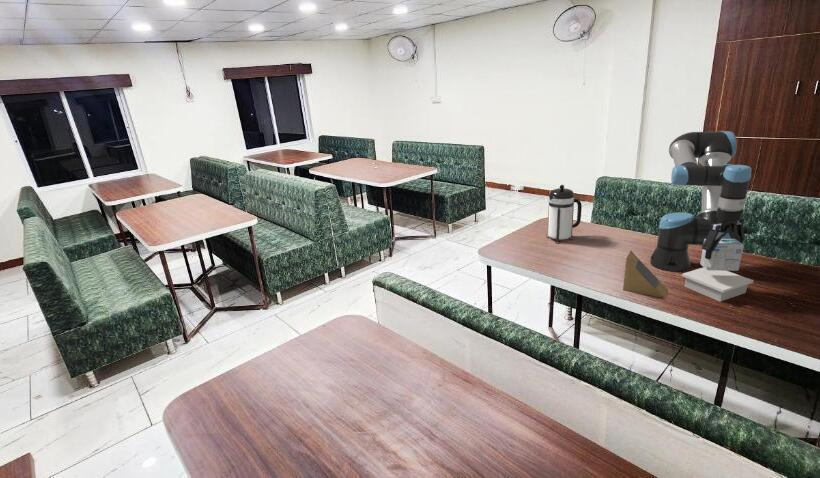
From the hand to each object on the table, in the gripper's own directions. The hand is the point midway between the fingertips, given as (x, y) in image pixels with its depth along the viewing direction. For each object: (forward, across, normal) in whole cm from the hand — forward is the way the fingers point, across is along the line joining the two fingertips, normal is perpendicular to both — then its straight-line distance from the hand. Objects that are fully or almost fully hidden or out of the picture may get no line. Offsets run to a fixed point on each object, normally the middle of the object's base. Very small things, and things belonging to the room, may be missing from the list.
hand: (719, 262), depth 156 cm
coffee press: (+12, -11, +75) cm, 77 cm away
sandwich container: (+12, -22, +12) cm, 28 cm away
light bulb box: (+2, 0, 0) cm, 2 cm away
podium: (+12, 0, 0) cm, 12 cm away
